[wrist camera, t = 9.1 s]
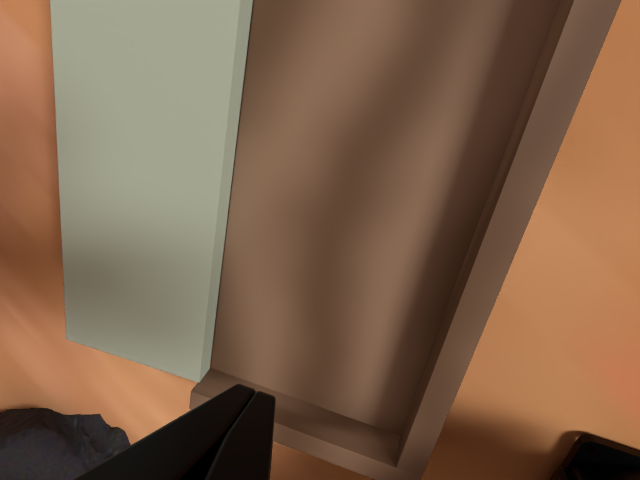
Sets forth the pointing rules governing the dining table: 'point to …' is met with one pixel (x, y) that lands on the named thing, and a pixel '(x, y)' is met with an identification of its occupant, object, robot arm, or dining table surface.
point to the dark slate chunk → (54, 444)
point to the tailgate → (146, 170)
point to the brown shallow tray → (385, 207)
